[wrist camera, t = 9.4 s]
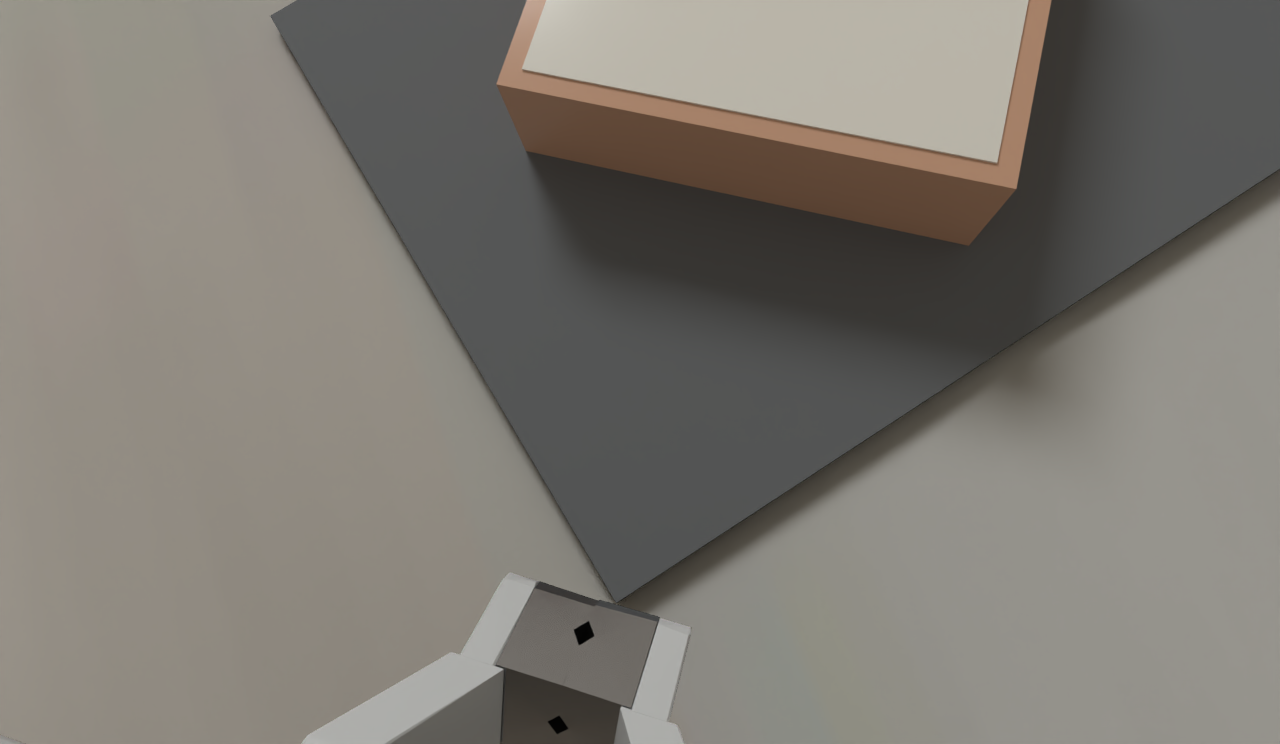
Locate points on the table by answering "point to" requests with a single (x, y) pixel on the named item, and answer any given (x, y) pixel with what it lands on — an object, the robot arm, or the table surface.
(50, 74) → the table surface
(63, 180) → the table surface
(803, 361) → the mat
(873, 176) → the tile
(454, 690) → the robot arm
